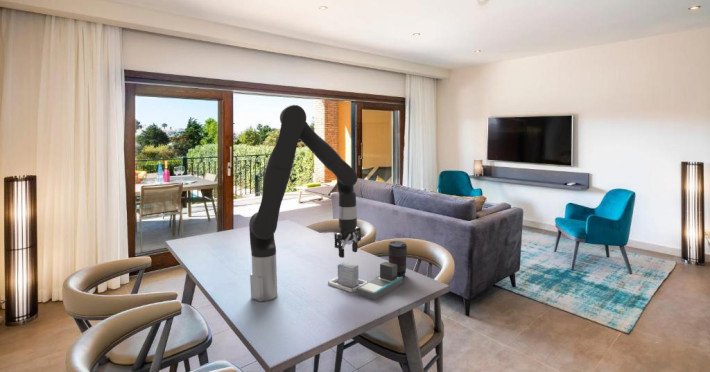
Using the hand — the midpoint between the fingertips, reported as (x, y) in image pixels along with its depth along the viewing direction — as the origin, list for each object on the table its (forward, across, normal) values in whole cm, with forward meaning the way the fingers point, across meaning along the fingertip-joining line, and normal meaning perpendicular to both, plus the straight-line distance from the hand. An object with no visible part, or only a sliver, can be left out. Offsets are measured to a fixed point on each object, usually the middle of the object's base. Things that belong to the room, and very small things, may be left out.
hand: (348, 254), depth 152 cm
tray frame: (+13, 0, 0) cm, 13 cm away
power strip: (+13, -5, +13) cm, 19 cm away
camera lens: (+14, -21, +11) cm, 27 cm away
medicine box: (+13, 0, 0) cm, 13 cm away
